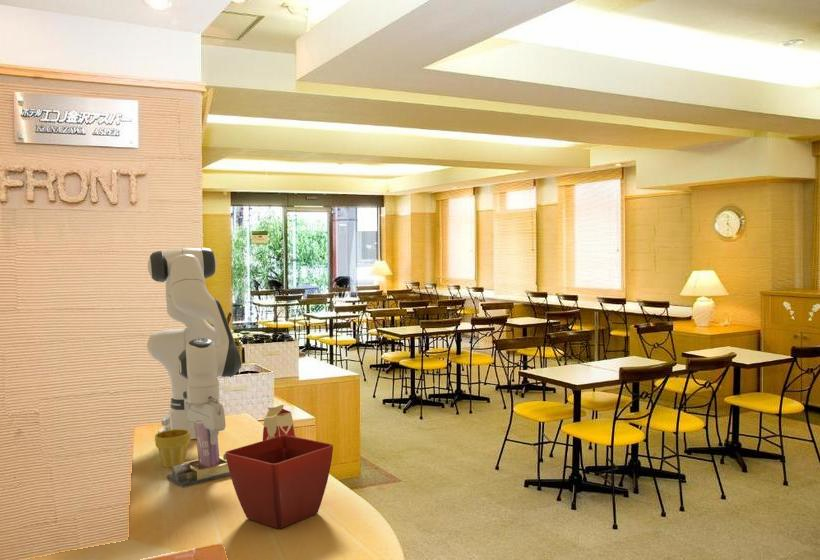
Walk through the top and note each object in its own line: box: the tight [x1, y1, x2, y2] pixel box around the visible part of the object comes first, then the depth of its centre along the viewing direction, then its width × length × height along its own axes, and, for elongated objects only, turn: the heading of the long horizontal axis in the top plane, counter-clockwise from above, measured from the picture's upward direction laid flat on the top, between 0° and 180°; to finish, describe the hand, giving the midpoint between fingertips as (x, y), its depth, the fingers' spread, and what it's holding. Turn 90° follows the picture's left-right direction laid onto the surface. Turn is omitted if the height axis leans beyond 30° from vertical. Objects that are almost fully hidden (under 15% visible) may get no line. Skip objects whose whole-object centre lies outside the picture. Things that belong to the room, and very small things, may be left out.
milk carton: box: [262, 404, 297, 441], centre depth 204 cm, size 9×9×20 cm
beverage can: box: [196, 421, 220, 470], centre depth 202 cm, size 6×6×15 cm
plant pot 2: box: [224, 435, 334, 530], centre depth 168 cm, size 19×19×17 cm
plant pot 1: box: [154, 429, 191, 468], centre depth 214 cm, size 10×10×10 cm
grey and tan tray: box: [166, 453, 230, 488], centre depth 203 cm, size 12×21×5 cm, turn 131°
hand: (206, 440), depth 203 cm, fingers open, 8 cm apart
